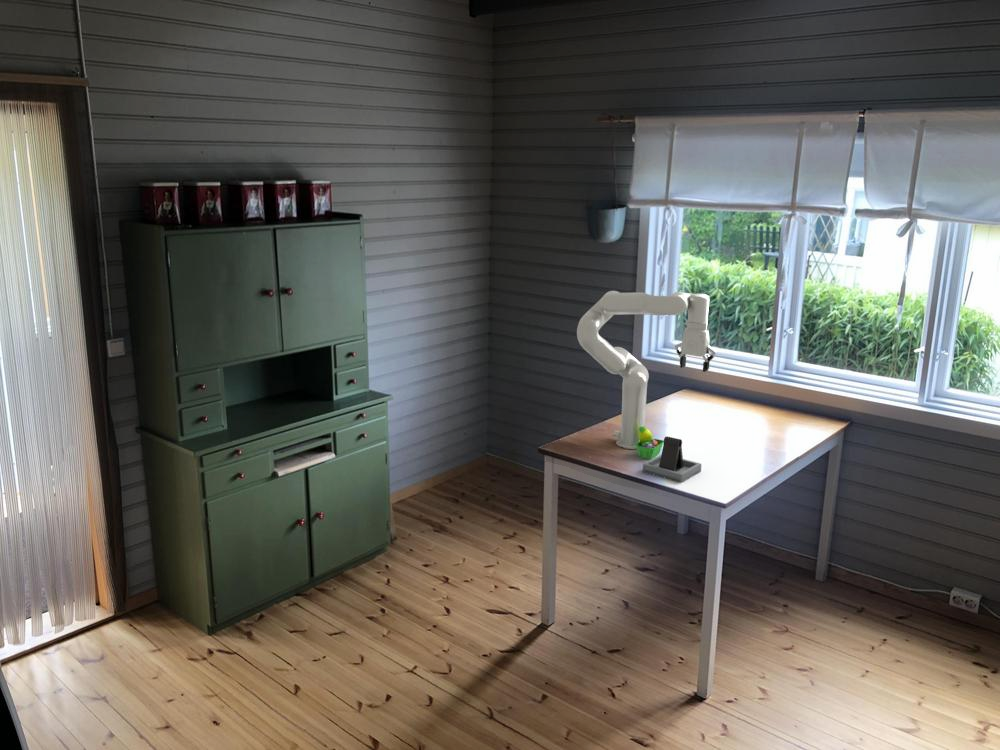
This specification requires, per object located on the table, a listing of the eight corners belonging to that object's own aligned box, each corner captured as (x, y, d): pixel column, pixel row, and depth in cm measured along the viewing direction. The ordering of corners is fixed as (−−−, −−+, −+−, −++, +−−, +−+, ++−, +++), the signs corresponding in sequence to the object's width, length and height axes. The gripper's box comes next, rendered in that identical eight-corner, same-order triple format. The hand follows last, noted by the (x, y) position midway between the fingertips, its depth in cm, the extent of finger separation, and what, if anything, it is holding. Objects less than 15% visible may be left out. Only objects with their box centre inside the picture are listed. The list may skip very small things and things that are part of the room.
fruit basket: (652, 461, 308) (654, 433, 305) (631, 456, 312) (633, 429, 310) (663, 452, 317) (665, 425, 314) (643, 448, 322) (644, 421, 319)
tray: (642, 471, 297) (643, 464, 296) (662, 461, 308) (663, 453, 307) (681, 482, 287) (682, 474, 286) (700, 471, 298) (701, 463, 297)
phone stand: (673, 474, 292) (675, 443, 289) (658, 470, 296) (660, 439, 293) (683, 467, 299) (685, 436, 296) (668, 463, 302) (670, 433, 299)
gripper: (672, 324, 311) (669, 367, 315) (713, 330, 300) (710, 374, 304) (681, 321, 317) (678, 363, 321) (722, 327, 306) (718, 371, 310)
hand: (694, 369), depth 313 cm, fingers open, 9 cm apart
